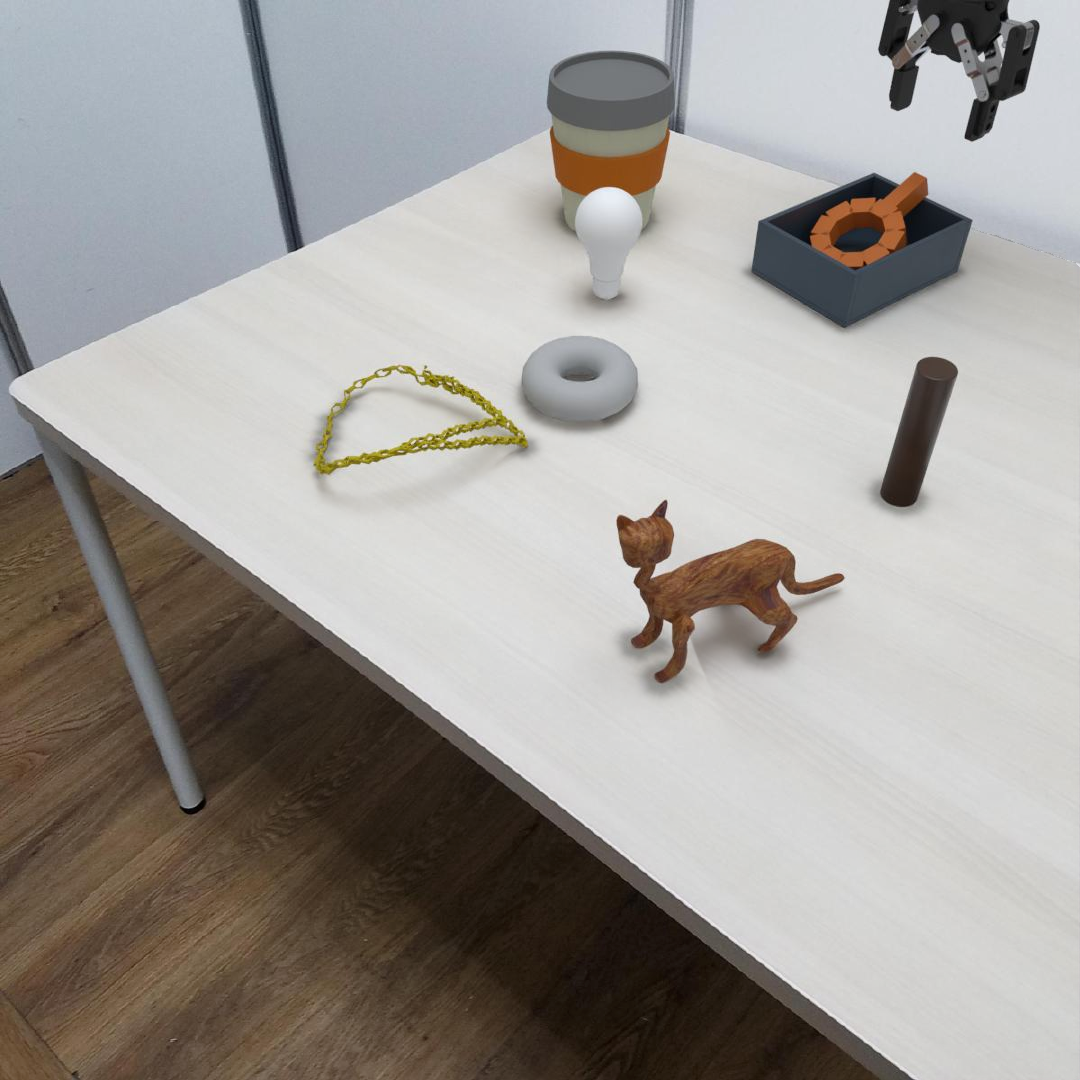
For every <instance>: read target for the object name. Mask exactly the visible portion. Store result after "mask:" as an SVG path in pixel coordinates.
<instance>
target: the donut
mask: <svg viewBox="0 0 1080 1080" xmlns="http://www.w3.org/2000/svg"><path fill="white" fill-rule="evenodd" d="M575 375H576V376H577V375H579V376H581V375H583V376H589V377H593V378H594V379H592V380H587V381H573V380H569V379H566V377H571V376H575ZM520 381H521V382H520V384H521V388H522V390H523V392H524V394H525V397H526V399H527V400H528V402H529V403H531V404H532V405H533V407H535V408H536V409H537V410H538V411H539V412H541V413H543V414H545V415H547V416H549V417H551V418H553V419H556V420H560V421H564V422H570V423H591V422H595V421H601V420H604V419H606V418H609V417H611V416H613V415H615V414H618V413H619V412H621V411H622V410H623V409H624V408H625V407H627V406H628V405H630V403H631V401H632V400H633V398H634V396H635V394H636V392H637V390H638V386H639V372H638V368H637V366H636V364H635V362H634V361H633V358H632V357H631V355H630V354H629V353H628V352H627V351H625V350H624V349H622V348H621V347H620V346H619V345H617V343H616V344H615V343H614V342H611V341H609V340H607V339H604V338H600V337H595V336H591V335H569V336H565V337H559V338H556V339H553V340H551V341H548V342H546V343H544V344H542V345H541V346H539V347H538V348H536V350H534V351H533V352H532V353H530V355H529V356H528V358H527V360H526V361H525V363H524V365H523V366H522V371H521V380H520Z"/></svg>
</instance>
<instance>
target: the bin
mask: <svg viewBox="0 0 1080 1080" xmlns="http://www.w3.org/2000/svg"><path fill="white" fill-rule="evenodd" d="M899 185H900V184H899V183H897V182H896V181H895V182H894V180H891V179H889V178H886V176H885V177H884V176H882V175H880V174H878V173H876V172H872V173H870V174H868V175H865V176H863V177H861V178H860V177H859V178H858V179H855V180H853V181H850V182H848V183H846V184H843V185H841V186H839V187H837V188H834V189H831V190H829V191H827V192H824V193H822V194H820V195H817V196H815V197H812V198H810V199H808V200H806V201H803V202H801V203H798V204H796V205H794V206H791V207H789V208H786V209H784V210H782V211H779V212H777V213H775V214H772V215H770V216H767V217H765V218H763V219H760V220H758V221H757V229H756V235H755V236H756V237H755V243H754V250H753V251H754V252H753V257H752V263H751V264H752V265H751V273H752V274H754V275H756V276H757V277H759V278H761V279H763V280H764V281H766V282H768V283H769V284H771V285H773V286H774V287H776V288H778V289H779V290H781V291H783V292H784V293H786V294H787V295H789V296H790V297H793V298H794V299H796V300H798V301H799V302H801V303H803V304H804V305H806V306H807V307H809V308H811V309H813V310H814V311H815V312H817V313H818V314H820V315H822V316H824V317H825V318H827V319H829V320H831V321H833V322H834V323H836V324H838V325H839V326H840V327H843V328H846V327H848V326H850V325H852V324H854V323H856V322H858V321H860V320H862V319H864V318H866V317H868V316H870V315H871V314H875V313H876V312H878V311H880V310H882V309H884V308H886V307H888V306H890V305H892V304H894V303H896V302H898V301H900V300H902V299H904V298H907V297H908V296H910V295H912V294H915V293H916V292H918V291H920V290H922V289H924V288H926V287H928V286H930V285H932V284H934V283H936V282H938V281H940V280H942V279H944V278H947V277H948V276H950V275H952V274H954V273H956V272H958V271H959V268H960V264H961V261H962V258H963V254H964V251H965V248H966V243H967V241H968V238H969V235H970V231H971V228H972V224H973V219H972V218H970V217H968V216H966V215H964V214H962V213H959V212H957V211H955V210H953V209H951V208H949V207H947V206H945V205H943V204H940V203H938V202H937V201H934V200H932V199H930V198H928V197H927V196H926V197H925V198H924V199H923V200H922V201H921V202H920V203H918V204H917V205H916V206H915V207H914V208H913V209H912V210H911V211H909V212H908V213H907V214H906V215H905V216H904V217H903V220H904V224H905V227H906V236H907V244H906V247H904V248H902V249H900V250H898V251H896V252H894V253H892V254H889V255H887V256H885V257H883V258H881V259H879V260H877V261H875V262H872V263H870V264H868V265H866V266H864V267H862V268H860V269H858V270H856V271H855V270H853V269H851V268H850V267H848V266H846V265H844V264H842V263H841V262H839V261H837V260H835V259H833V258H832V257H830V256H828V255H826V254H825V253H823V252H821V251H819V250H817V249H816V248H814V247H812V245H811V240H810V236H811V231H812V230H813V228H814V226H815V225H816V223H817V222H818V220H819V218H820V217H821V215H824V216H826V211H828V210H830V209H832V208H834V207H836V206H838V205H839V204H841V203H843V202H845V201H847V202H848V203H849V204H851V200H852V199H861V198H876V202H877V201H878V200H879V199H882V200H883V199H885V198H886V197H887V196H888V195H889V194H890V193H891V192H892V191H893V190H895V189H896V188H897V187H898V186H899ZM882 235H883V233H881V232H880V231H878V230H876V229H874V228H872V227H870V228H854V229H852V230H850V231H848V232H846V233H845V234H843V235H841V236H839V238H838V240H837V241H836V243H835V244H834V246H833V247H835V248H837V249H838V250H840V251H842V252H844V253H847V252H862V251H864V250H866V249H868V248H870V247H872V246H874V245H876V244H878V242H879V240H880V239H881V237H882Z"/></svg>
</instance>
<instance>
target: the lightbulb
mask: <svg viewBox="0 0 1080 1080" xmlns="http://www.w3.org/2000/svg"><path fill="white" fill-rule="evenodd" d="M575 228H576V232H575V233H576V236H577V238H578V240H579V242H580V244H581V245H582V248H583V249H584V250H585V253H586V255H587V257H588V262H589V271H590V275H591V277H592V292H593V294H594V295H595V296H596V297H597V298H600V299H602V300H605V301H609V300H611V299H613V298H615V297H617V296H618V295H619V294H620V289H621V281H622V276H623V275H624V272H625V264H626V261H627V258H628V256H629V254H630V252H631V250H632V249H633V248H634V246H635V245H636V243H637V242H638V240H639V237H640V236H641V232H642V230H641V229H642V214H641V210H640V207H639V205H638V204H637V202H636V200H635V199H634V198H633V197H632V196H631V195H630V194H629V193H627V192H626V191H624V190H622V189H619V188H614V187H604V188H600V189H597V190H595V191H593V192H591V193H589V194H588V195H587V196H586V197H585V198H584V199H583V201H582V202H581V203H580V205H579V207H578V209H577V212H576V217H575Z"/></svg>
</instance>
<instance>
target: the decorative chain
mask: <svg viewBox="0 0 1080 1080" xmlns="http://www.w3.org/2000/svg"><path fill="white" fill-rule="evenodd" d="M422 366H423V369H422V373H421V374H418V373H417V371H416V370H415V369H414V368H413V367H412V366H411V365H402V364H398V365H391V366H388V367H383V368H379V369H376V370H375V371H374V372H373V374H371V375H370V376H367V377H362V378H360V379H357V380H354V381H353V382H352V385H351V386H350V387H348V388H347V389H344V390H343V396H344V397H343V400H342V402H335V403H334V404H333V405H332V407H331V408H330V413H329V415H327V416H326V421H327V427H326V428H325V429H324V431H323V433H322V438H323V440H322V441H320V442H318V443H317V444H315V450H316V451H317V453H318V454H317V455H316V457H315V460H314V462H313V464H312V466H314V467H315V468H316V471H317V472H318V473H319V474H320V475H323V476H324V474H326V475H328V476H330V475H331V474H332V473H333V472H335V470H336V469H343V468H348V467H350V466H352V465H359V466H360V465H361V464H366V465H370V464H371V463H379V462H380V461H383V460H386V459H389V458H392V457H398V456H399V457H400V456H406V455H407V454H416V453H419V452H422V451H423V452H427V451H428V450H431V451H436V450H440V451H441V452H442V451H444V450H446V449H447V450H449V451H452V450H454V449H455V450H456V451H458V450H459V449H461V448H462V449H471V448H473V447H476V446H480V447H482V446H485V445H489V446H491V445H492V446H497V445H502V446H503V445H504V446H508V445H513V446H514V445H517V446H521V447H522V448H523V449H525V448H527V447H529V441H528V439H527V438H526V434H525V433H524V430H522V429H521V430H519V427H518V426H515V424H514V422H513V421H512V419H508V417H507V416H506V415H504V414H503V412H502V409H497V407H496V405H495V406H494V405H492V402H491V400H488V399H486V398H485V397H484V396H482V395H481V393H480V392H479V391H478V390H475V389H474V388H469V387H468V386H467V385H465V384H462V383H461V381H459V380H458V379H455V376H449V375H447V374H445V375H441V374H433V372H432V371H431V370H429V369H427V368H428V365H425V364H422ZM400 368H401V369H400ZM380 371H381V372H382V373H384V372H385V374H384V375H379V373H378V372H380ZM392 371H397V372H398V373H400V374H401V375H411V376H413V377H414V378H415V381H416V383H417V384H419V385H420V386H421V387H423V386H427V385H428V386H430V387H432V388H437V389H438V388H439V387H440V386H442V388H443V389H444V391H447V392H449V393H450V394H451V395H460V396H461V397H466V398H469V399H470V402H471V403H474V404H475V405H476V406H479V407H481V411H486V414H488V415H489V416H491V417H492V418H489V417H487V418H486V417H484V418H483V419H481V420H480V421H479V420H475V421H468V422H467V424H465V423H460V424H455V425H454V426H453V427H452V426H451V427H447V428H446V429H444V430H443V431H442V432H441V433H440V434H439V433H438V434H434V433H427V434H426V435H425V436H424V435H423V436H418V437H411V438H410V439H409V440H408V441H404V442H401V444H400V445H398V446H396V447H393V448H390V449H385V448H384V449H379V450H378V451H373V452H371V453H367V452H362V453H361V454H359V455H347V456H346V457H344V458H339V459H334V460H333V462H326V460H325V456H324V455H323V454H324V452H325V450H326V449H327V447H328V440H329V438H330V437H332V436H333V432H332V431H331V430H332V426H333V425H334V423H333V420H332V419H333V417H334V416H335V415H336V414H338V413H340V412H342V410H344V409H345V407H346V406H347V402H349V401H350V400H351V399H352V396H351V393H352V392H353V391H354V390H356V389H357V390H358V389H363V387H365V385H366V384H367V383H369V382H370V381H372V380H374V379H376V378H377V379H378V378H386V377H388V376H390V375H392ZM418 377H420V378H423V379H424V381H420V380H419V378H418ZM358 383H360V385H361V386H356V385H357V384H358ZM346 394H347V395H348V397H346ZM336 407H340V409H337V410H336V411H334V408H336ZM507 424H509V425H507ZM497 426H499V427H500V428H501V429H503V428H504V429H505V430H508V431H509V433H511V434H513V435H512V436H511V434H508V435H506V436H501V435H497V434H495V435H493V436H492V437H491V436H489V435H488V436H487V435H483V434H482V435H481V436H479V437H477V436H474V437H469V438H468V439H467V440H466V439H458V438H456V439H455V440H454V441H450V440H448V439H449V438H452V437H454V436H455V435H456V436H459V435H460V434H461V433H462V434H466V433H467V432H470V433H472V432H473V431H474V430H476V431H479V430H480V429H482V430H485V429H486V428H487V427H489V428H492V427H495V428H496V427H497ZM327 433H328V434H327ZM429 438H431V439H429ZM428 439H429V440H428ZM414 441H415V442H414ZM441 444H444V445H442V446H441ZM321 446H324V447H323V448H320V447H321Z"/></svg>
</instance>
